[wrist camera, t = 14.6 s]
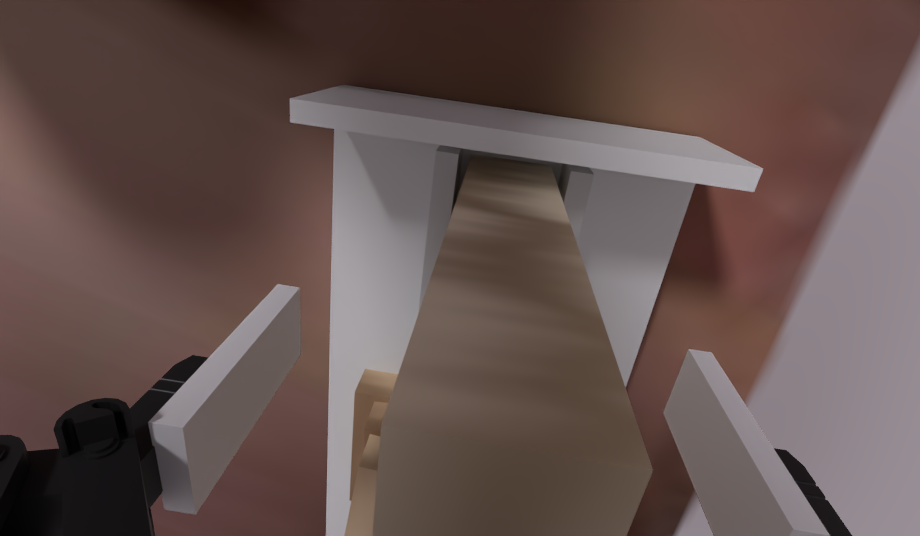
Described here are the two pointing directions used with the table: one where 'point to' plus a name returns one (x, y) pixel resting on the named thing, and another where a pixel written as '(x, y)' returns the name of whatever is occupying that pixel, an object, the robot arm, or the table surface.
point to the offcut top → (364, 491)
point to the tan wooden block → (509, 381)
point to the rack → (431, 205)
